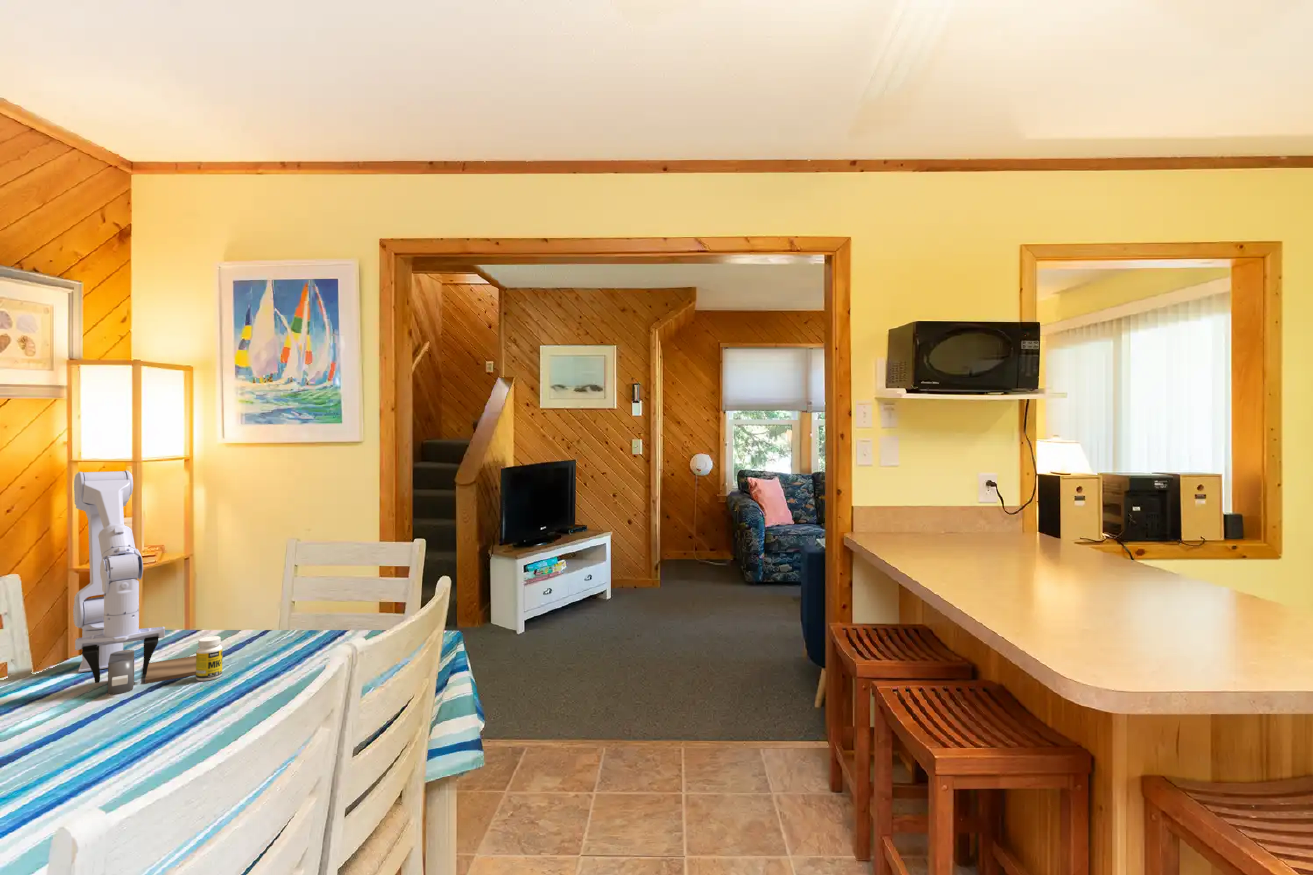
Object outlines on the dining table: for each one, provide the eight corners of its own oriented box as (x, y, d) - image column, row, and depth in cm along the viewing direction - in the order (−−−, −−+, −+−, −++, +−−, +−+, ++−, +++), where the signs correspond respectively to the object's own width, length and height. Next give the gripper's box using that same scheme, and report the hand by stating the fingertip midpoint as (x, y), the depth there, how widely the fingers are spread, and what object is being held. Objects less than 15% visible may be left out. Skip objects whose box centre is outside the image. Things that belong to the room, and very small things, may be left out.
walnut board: (146, 666, 151) (146, 663, 151) (210, 656, 158) (210, 653, 158) (145, 683, 141) (145, 679, 141) (213, 671, 148) (213, 668, 148)
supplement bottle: (209, 682, 142) (209, 642, 142) (190, 680, 143) (190, 641, 143) (227, 674, 146) (227, 635, 146) (209, 672, 147) (209, 634, 147)
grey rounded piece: (110, 680, 143) (110, 652, 143) (134, 676, 145) (134, 648, 145) (106, 699, 132) (106, 668, 132) (132, 694, 135) (132, 664, 135)
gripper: (73, 621, 132) (73, 690, 132) (164, 610, 141) (164, 675, 141) (77, 614, 138) (77, 680, 138) (164, 604, 146) (164, 666, 146)
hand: (121, 677), depth 140 cm, fingers open, 7 cm apart
